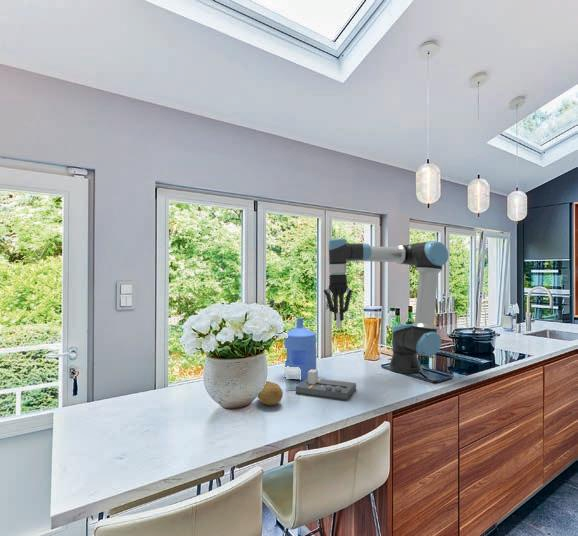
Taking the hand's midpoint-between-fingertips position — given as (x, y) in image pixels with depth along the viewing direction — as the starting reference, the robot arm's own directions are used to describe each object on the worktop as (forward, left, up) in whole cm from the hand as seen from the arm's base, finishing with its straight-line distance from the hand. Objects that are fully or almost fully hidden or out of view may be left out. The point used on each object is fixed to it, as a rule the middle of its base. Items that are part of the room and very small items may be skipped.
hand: (339, 328), depth 157 cm
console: (+4, +7, -26) cm, 27 cm away
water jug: (+23, -10, -26) cm, 36 cm away
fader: (+10, +7, -25) cm, 28 cm away
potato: (+20, +28, -26) cm, 43 cm away
